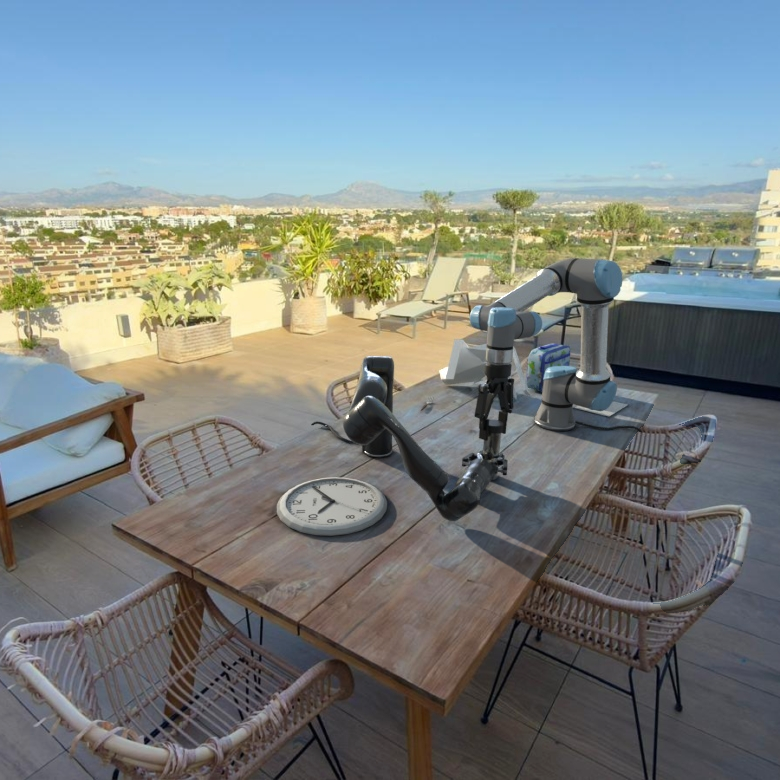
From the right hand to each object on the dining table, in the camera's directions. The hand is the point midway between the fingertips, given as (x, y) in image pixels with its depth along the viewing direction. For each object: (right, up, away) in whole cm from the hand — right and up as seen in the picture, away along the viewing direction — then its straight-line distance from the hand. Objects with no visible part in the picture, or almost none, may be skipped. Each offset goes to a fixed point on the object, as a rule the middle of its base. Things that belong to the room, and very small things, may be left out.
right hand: (492, 435), depth 157 cm
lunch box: (+45, +15, +95) cm, 106 cm away
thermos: (0, -13, +4) cm, 14 cm away
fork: (-15, +7, +66) cm, 68 cm away
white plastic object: (+11, +13, +86) cm, 88 cm away
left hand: (+1, -6, +4) cm, 8 cm away
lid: (0, +4, -1) cm, 4 cm away
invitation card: (+61, +6, +69) cm, 92 cm away
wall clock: (-47, -18, -14) cm, 52 cm away
